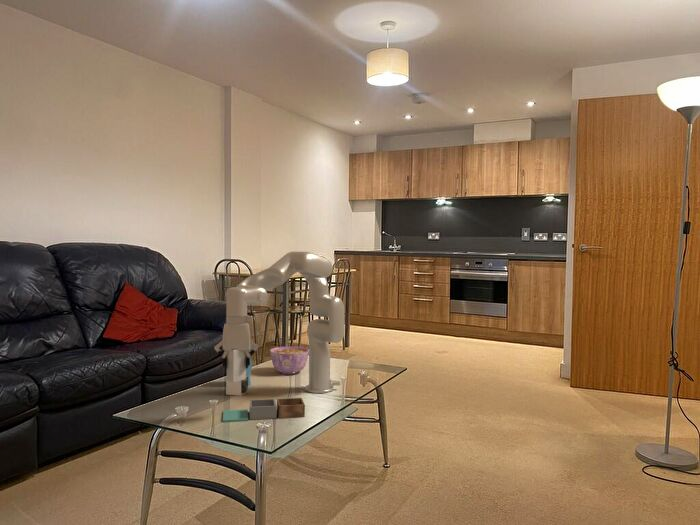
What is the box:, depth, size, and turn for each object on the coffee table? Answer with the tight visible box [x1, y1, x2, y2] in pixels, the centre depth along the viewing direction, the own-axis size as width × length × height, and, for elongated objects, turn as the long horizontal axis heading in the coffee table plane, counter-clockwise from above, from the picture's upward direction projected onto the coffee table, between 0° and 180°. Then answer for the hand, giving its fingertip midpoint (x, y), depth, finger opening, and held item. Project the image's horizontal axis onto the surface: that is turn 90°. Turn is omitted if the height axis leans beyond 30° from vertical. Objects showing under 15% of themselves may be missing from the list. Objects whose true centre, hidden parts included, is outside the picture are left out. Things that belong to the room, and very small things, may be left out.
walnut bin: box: [276, 397, 306, 419], centre depth 199 cm, size 10×10×4 cm
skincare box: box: [226, 349, 246, 382], centre depth 194 cm, size 6×4×12 cm
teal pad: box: [222, 409, 249, 423], centre depth 194 cm, size 9×12×1 cm
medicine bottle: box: [225, 376, 249, 397], centre depth 226 cm, size 7×7×12 cm
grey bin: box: [248, 398, 277, 421], centre depth 196 cm, size 10×10×4 cm
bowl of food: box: [269, 346, 309, 375], centre depth 265 cm, size 20×20×12 cm
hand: (236, 367), depth 194 cm, fingers closed on skincare box, 7 cm apart
